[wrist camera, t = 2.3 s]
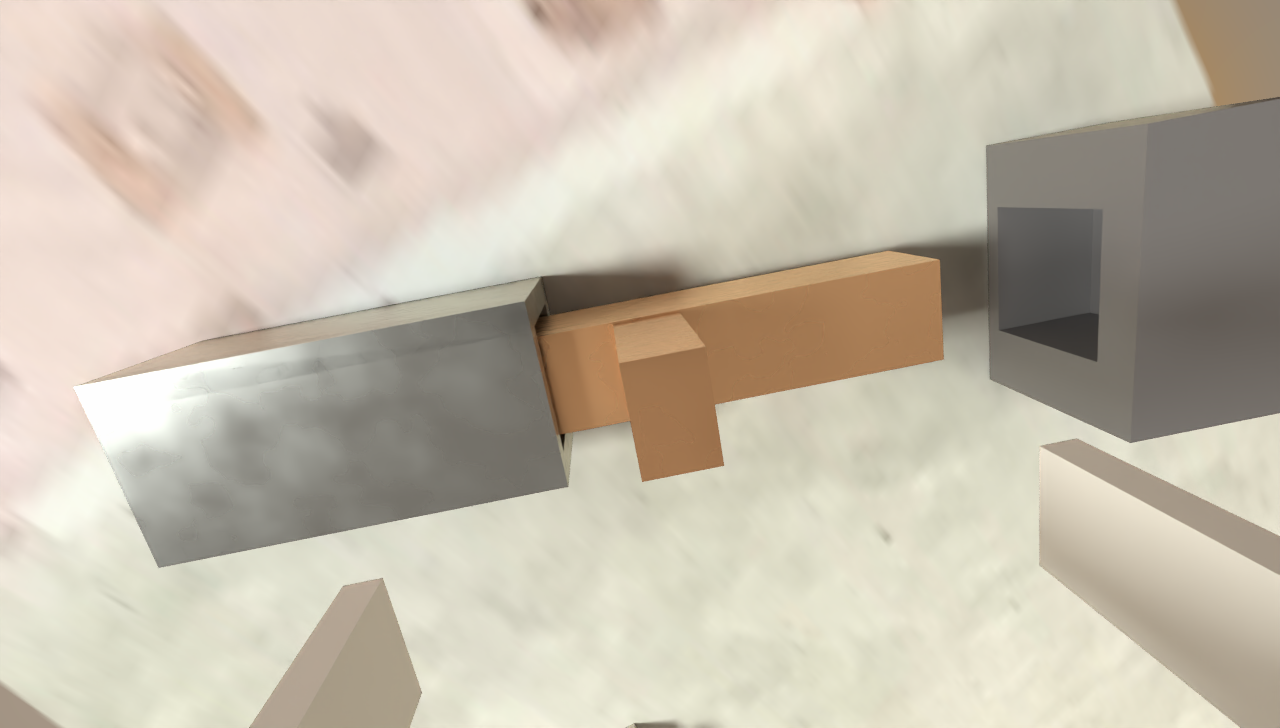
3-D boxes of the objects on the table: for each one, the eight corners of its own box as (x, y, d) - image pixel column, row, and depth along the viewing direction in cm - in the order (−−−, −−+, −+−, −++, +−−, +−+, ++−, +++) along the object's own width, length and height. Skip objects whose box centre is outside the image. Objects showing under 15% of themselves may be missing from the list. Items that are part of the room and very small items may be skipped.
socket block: (986, 145, 30) (1148, 123, 21) (1111, 122, 30) (1324, 90, 21) (989, 379, 33) (1130, 443, 24) (1102, 357, 33) (1282, 412, 25)
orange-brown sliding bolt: (279, 367, 28) (106, 459, 18) (888, 250, 29) (1044, 277, 19) (309, 450, 30) (163, 579, 20) (893, 336, 30) (1043, 404, 20)
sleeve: (201, 340, 29) (73, 387, 22) (541, 276, 30) (524, 301, 23) (258, 483, 32) (158, 567, 24) (574, 421, 32) (568, 486, 25)
